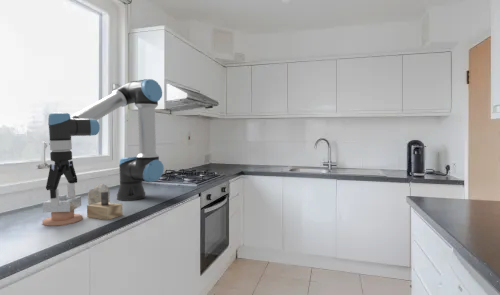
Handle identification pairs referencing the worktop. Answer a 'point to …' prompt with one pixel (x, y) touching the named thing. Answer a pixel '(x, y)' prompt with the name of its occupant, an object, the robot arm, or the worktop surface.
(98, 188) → the stone
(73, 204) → the grey square stone block
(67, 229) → the worktop surface
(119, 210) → the stand
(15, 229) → the worktop surface
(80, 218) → the hub
